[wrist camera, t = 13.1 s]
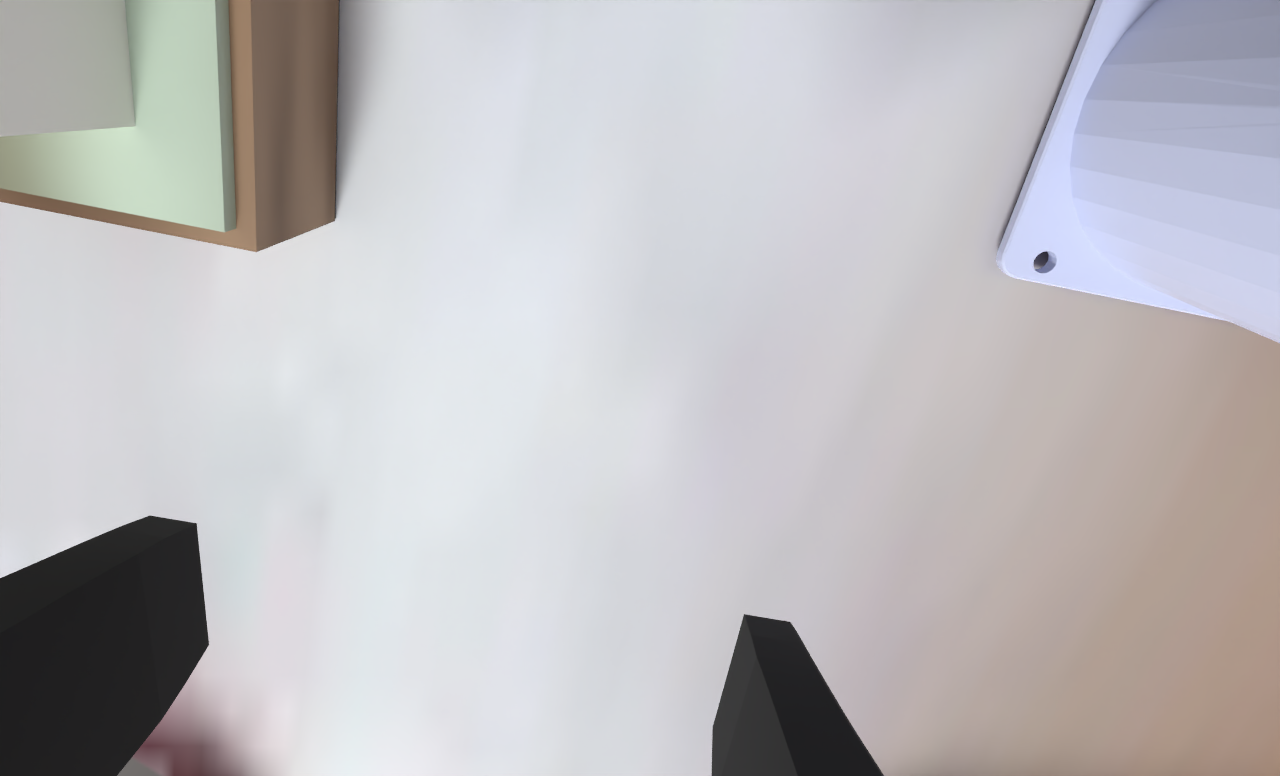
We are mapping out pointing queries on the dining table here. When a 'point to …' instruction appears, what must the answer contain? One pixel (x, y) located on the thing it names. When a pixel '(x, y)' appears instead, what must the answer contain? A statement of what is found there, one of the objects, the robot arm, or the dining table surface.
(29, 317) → the dining table surface
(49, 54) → the cream block
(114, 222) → the walnut stand
